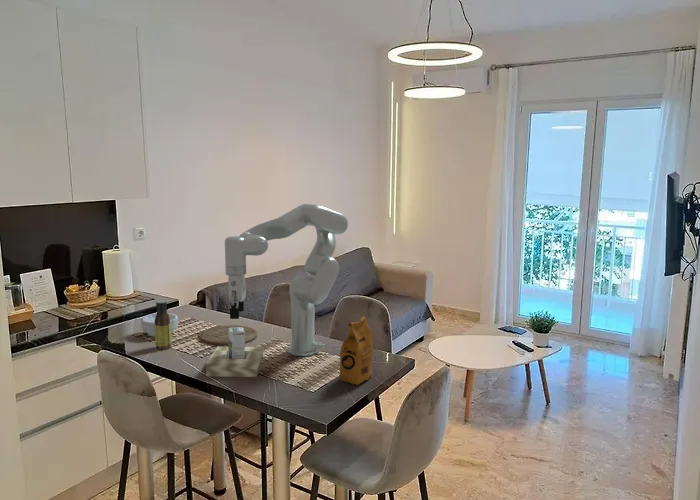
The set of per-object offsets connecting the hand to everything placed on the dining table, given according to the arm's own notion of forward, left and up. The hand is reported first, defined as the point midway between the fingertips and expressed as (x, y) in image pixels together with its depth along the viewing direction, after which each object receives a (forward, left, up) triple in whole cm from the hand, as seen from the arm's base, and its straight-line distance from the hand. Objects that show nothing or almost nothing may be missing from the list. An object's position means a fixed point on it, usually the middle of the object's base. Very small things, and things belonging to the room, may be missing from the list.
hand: (237, 314), depth 194 cm
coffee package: (-45, +9, -21) cm, 50 cm away
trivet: (+11, -37, -21) cm, 44 cm away
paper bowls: (+41, -39, -21) cm, 60 cm away
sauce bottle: (+34, -21, -21) cm, 45 cm away
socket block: (0, 0, -21) cm, 20 cm away
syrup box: (0, 0, -20) cm, 20 cm away
